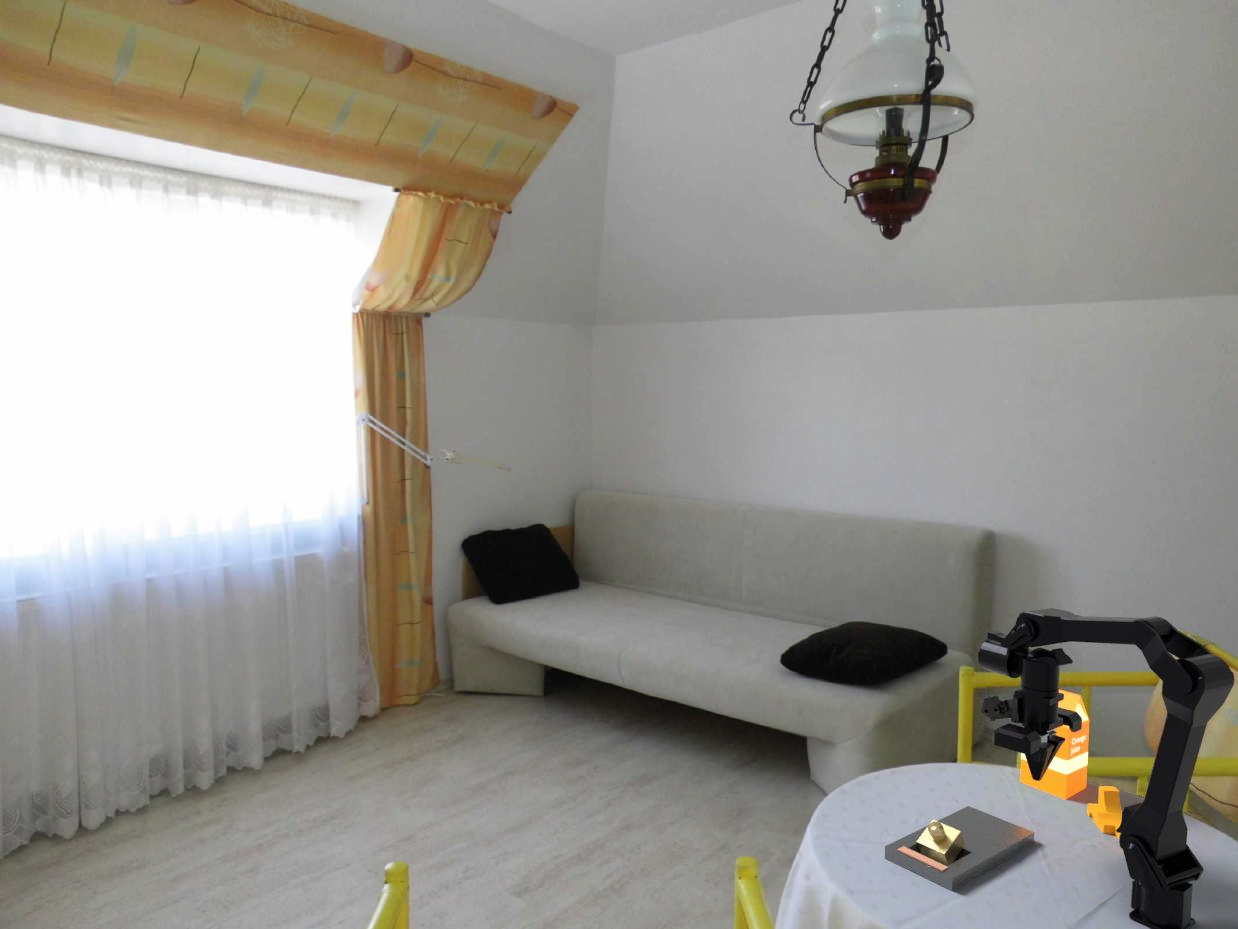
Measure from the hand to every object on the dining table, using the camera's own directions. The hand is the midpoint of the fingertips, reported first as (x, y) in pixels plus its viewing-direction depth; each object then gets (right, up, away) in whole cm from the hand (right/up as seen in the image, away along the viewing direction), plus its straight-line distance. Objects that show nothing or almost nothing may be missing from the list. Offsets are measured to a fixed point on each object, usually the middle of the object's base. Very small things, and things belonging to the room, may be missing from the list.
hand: (1036, 780), depth 148 cm
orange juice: (+13, -10, +22) cm, 28 cm away
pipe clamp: (+16, -12, +5) cm, 20 cm away
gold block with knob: (-16, -11, -2) cm, 19 cm away
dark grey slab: (-12, -12, 0) cm, 17 cm away
